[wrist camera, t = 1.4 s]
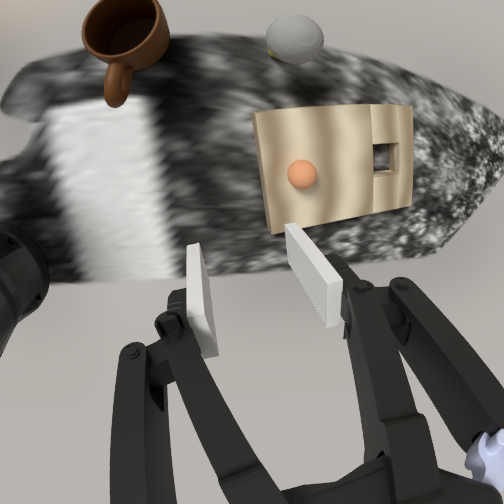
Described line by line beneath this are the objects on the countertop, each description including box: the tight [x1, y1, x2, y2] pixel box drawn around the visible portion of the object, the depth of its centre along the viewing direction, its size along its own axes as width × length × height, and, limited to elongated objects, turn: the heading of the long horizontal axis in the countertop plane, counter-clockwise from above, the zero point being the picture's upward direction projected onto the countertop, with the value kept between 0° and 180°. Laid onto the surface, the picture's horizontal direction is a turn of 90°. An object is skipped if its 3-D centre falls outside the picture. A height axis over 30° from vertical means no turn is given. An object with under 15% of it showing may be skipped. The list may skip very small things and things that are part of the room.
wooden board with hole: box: [251, 104, 413, 234], centre depth 35 cm, size 22×15×2 cm
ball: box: [287, 160, 317, 189], centre depth 31 cm, size 3×3×3 cm
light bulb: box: [266, 14, 324, 64], centre depth 23 cm, size 6×5×10 cm
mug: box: [82, 0, 170, 108], centre depth 21 cm, size 12×8×9 cm, turn 173°
